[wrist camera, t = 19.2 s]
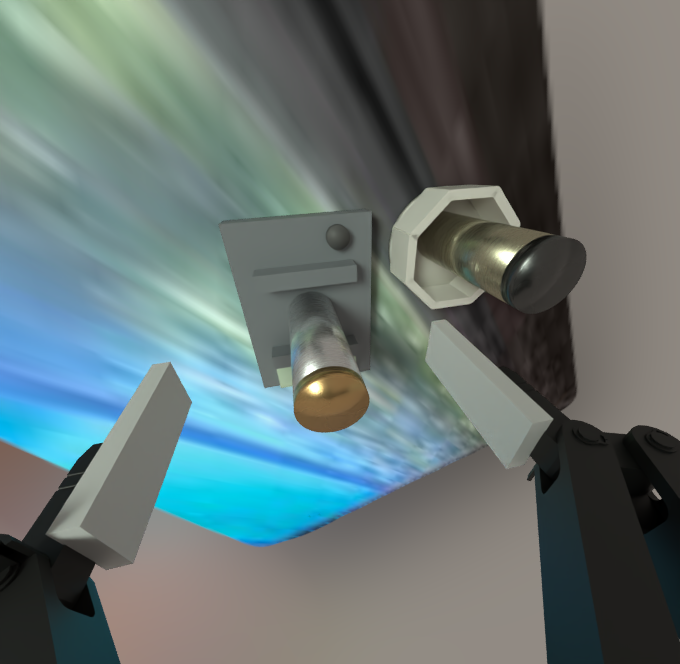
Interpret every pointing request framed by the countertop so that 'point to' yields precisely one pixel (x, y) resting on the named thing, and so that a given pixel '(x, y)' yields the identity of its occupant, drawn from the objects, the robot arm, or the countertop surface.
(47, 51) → the countertop surface
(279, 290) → the cradle
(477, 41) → the countertop surface
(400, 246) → the white octagonal bowl
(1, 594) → the robot arm
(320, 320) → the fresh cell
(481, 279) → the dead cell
